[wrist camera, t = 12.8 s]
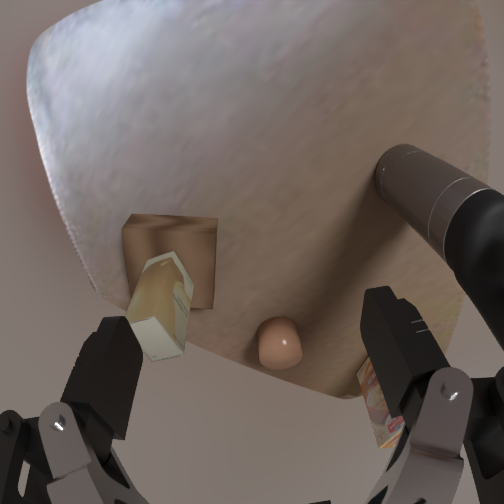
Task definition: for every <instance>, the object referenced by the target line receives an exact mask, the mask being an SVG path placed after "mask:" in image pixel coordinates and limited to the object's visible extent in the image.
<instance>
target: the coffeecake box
mask: <svg viewBox="0 0 504 504" xmlns="http://www.w3.org/2000/svg"><path fill="white" fill-rule="evenodd" d="M357 377H358V380H359V383H360V386H361V390H362V393H363V396H364V399H365V403H366V406H367V410H368V413H369V416H370V420H371V423H372V427H373V430H374V434H375V437H376V440H377V445H378V449H381V448H388V447H393V446H395V445H396V443H397V441H398V438H399V436H400V433H401V431H402V428H403V426H404V424H405V422H404V419H403V416H399V417H396V418H392V419H391V416H390V413H389V410H388V407H387V404H386V401H385V399H384V396H383V393H382V390H381V387H380V385H379V382H378V379H377V376H376V374H375V371H374V368H373V366H372V363H371V361H370V358H369V357H368V358H367V360H366V361H365V363H364V364H363V365H362V367H361V368H360V370H359V371H358V372H357Z"/></svg>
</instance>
